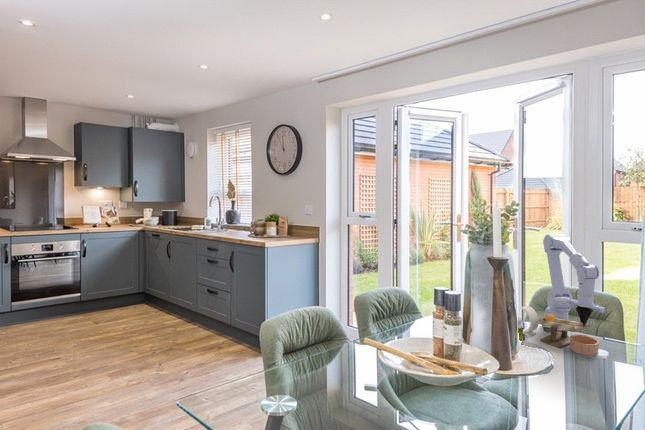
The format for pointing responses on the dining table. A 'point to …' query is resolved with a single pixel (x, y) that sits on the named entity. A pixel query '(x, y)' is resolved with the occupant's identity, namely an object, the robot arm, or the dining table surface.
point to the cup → (584, 344)
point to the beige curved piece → (562, 325)
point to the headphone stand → (531, 320)
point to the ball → (550, 318)
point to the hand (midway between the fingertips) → (583, 323)
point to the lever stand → (557, 338)
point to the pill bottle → (520, 329)
